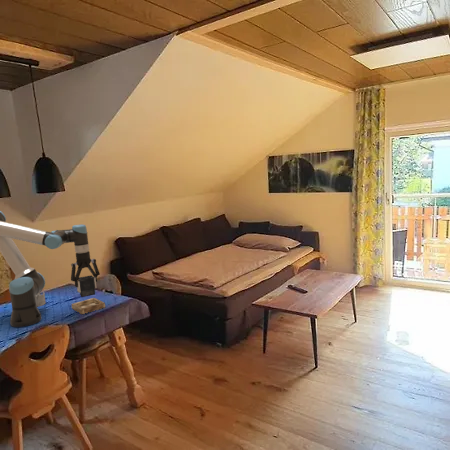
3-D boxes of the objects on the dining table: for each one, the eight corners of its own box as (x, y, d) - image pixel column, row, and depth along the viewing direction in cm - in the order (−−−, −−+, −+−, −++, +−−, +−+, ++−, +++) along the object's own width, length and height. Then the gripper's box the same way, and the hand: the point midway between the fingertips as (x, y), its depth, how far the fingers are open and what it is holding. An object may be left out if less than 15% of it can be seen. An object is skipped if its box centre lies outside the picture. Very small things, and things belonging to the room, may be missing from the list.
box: (93, 292, 237) (91, 275, 236) (95, 294, 232) (93, 277, 231) (79, 295, 234) (77, 277, 232) (81, 297, 229) (79, 279, 227)
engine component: (32, 302, 251) (24, 307, 241) (27, 270, 248) (20, 274, 238) (49, 301, 251) (43, 306, 241) (45, 269, 248) (38, 273, 238)
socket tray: (81, 314, 224) (81, 309, 224) (72, 308, 234) (71, 303, 234) (105, 307, 233) (104, 302, 233) (94, 302, 244) (94, 297, 243)
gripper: (66, 256, 219) (71, 296, 222) (103, 248, 233) (107, 286, 237) (60, 254, 225) (66, 293, 228) (97, 247, 239) (101, 284, 242)
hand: (87, 289), depth 232 cm, fingers closed on box, 9 cm apart
